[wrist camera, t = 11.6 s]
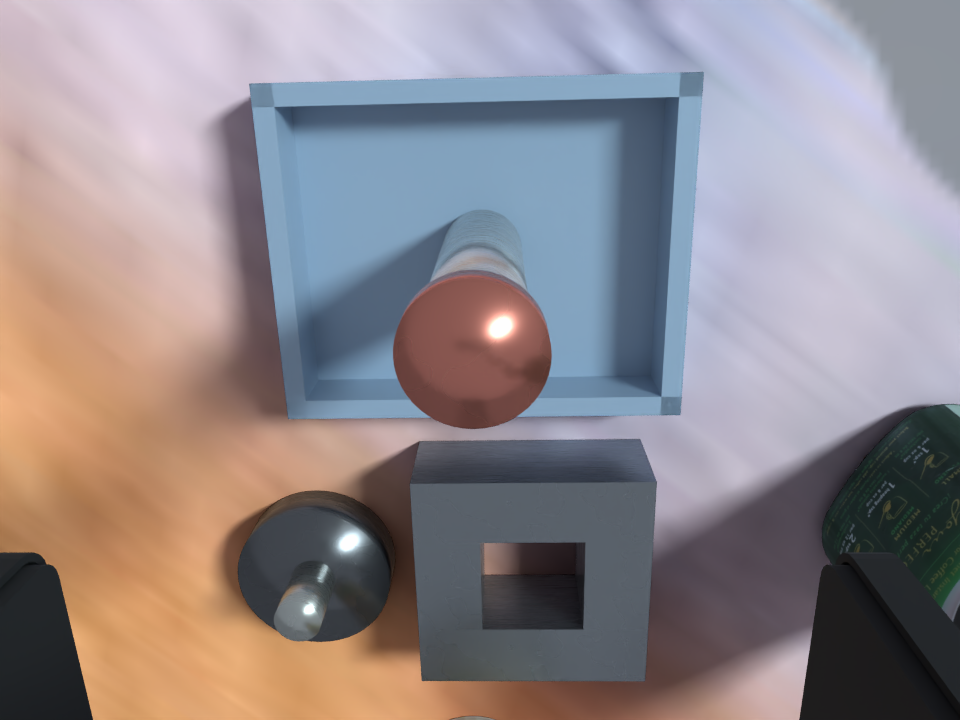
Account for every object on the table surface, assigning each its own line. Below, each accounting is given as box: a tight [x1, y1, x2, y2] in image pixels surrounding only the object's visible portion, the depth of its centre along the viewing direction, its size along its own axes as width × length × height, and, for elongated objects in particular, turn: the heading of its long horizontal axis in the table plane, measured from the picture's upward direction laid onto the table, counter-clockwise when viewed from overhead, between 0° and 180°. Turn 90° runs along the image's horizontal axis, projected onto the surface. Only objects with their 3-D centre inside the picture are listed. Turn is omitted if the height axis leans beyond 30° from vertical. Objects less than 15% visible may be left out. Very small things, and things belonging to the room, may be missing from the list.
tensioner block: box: [410, 439, 657, 681], centre depth 35 cm, size 10×10×4 cm
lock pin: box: [393, 210, 552, 429], centre depth 26 cm, size 4×4×13 cm
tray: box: [249, 72, 704, 419], centre depth 31 cm, size 16×13×3 cm
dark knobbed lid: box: [238, 491, 395, 642], centre depth 35 cm, size 7×7×5 cm
